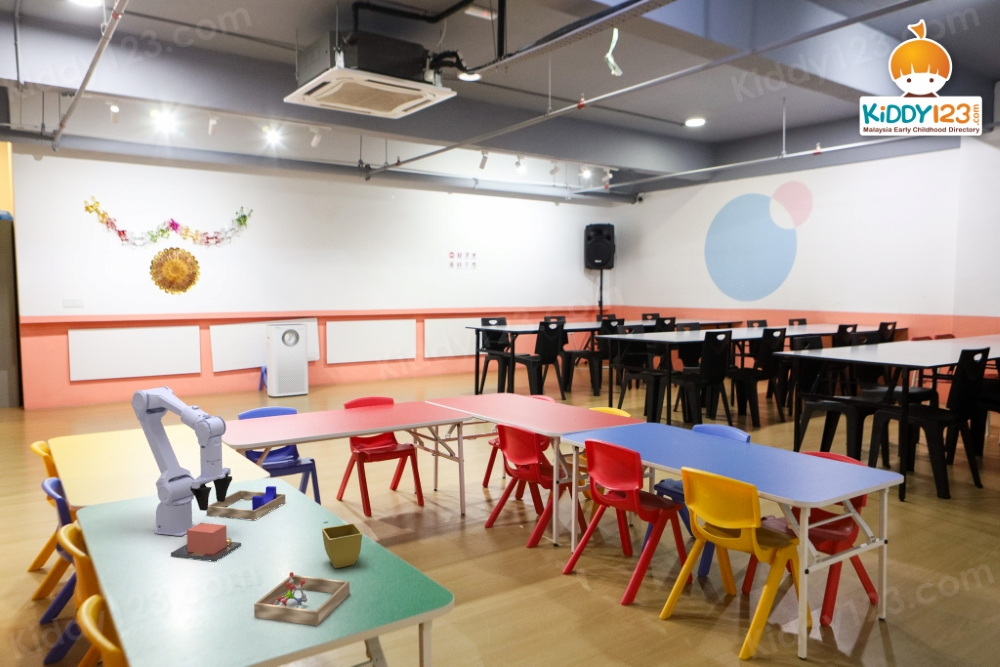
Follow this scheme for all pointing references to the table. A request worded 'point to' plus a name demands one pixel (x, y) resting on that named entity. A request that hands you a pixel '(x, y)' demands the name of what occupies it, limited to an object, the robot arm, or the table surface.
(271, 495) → the blue curved cradle block
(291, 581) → the molecular model
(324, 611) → the wooden frame right
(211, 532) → the cap
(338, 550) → the flower pot
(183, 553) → the panel
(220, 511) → the wooden frame left
